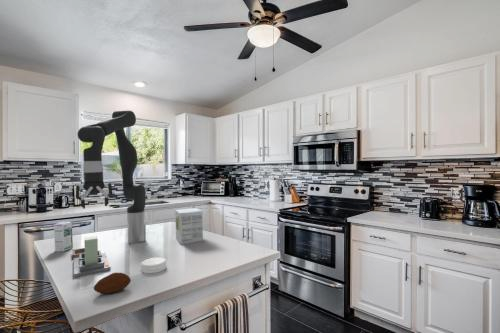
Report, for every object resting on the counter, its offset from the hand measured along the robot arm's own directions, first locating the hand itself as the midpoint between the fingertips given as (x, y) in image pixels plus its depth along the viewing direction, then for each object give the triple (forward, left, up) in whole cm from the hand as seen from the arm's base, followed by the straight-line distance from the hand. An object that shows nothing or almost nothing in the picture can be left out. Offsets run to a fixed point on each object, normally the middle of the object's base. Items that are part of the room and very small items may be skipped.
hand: (95, 207), depth 121 cm
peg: (+2, +7, -24) cm, 25 cm away
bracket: (+4, -18, -26) cm, 32 cm away
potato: (-3, +35, -26) cm, 43 cm away
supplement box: (-48, -11, -26) cm, 56 cm away
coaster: (-20, +22, -26) cm, 39 cm away
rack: (+2, +2, -26) cm, 26 cm away
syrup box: (+13, -34, -26) cm, 45 cm away
